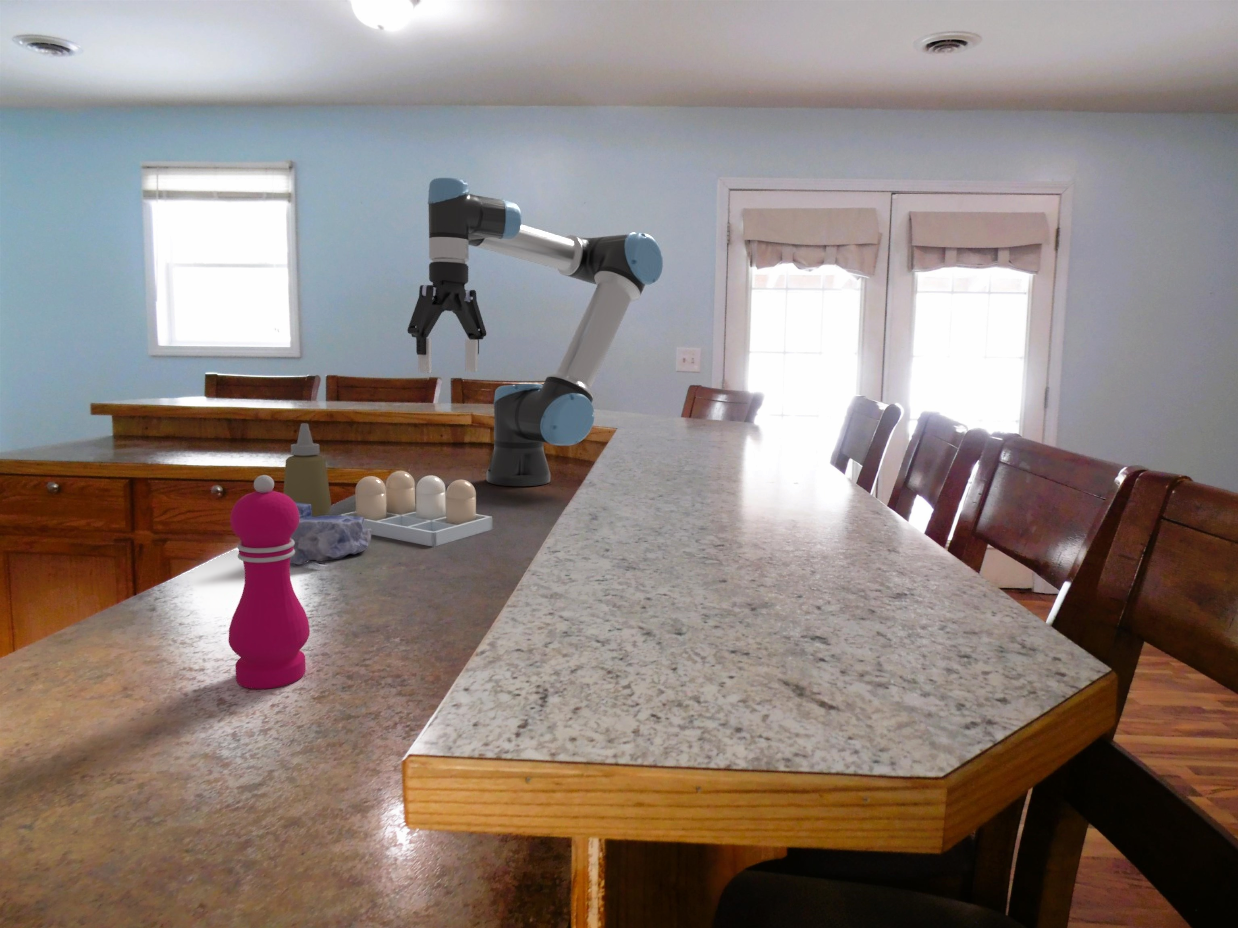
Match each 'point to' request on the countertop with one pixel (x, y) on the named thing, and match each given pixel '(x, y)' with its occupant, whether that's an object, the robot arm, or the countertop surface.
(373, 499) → the brown egg
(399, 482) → the brown egg
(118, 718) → the countertop surface
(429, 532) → the carton
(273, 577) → the pepper mill
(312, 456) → the squeeze bottle
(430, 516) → the egg
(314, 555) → the mineral
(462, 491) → the brown egg
